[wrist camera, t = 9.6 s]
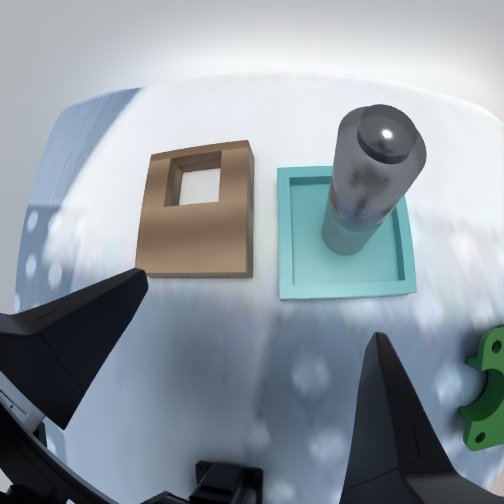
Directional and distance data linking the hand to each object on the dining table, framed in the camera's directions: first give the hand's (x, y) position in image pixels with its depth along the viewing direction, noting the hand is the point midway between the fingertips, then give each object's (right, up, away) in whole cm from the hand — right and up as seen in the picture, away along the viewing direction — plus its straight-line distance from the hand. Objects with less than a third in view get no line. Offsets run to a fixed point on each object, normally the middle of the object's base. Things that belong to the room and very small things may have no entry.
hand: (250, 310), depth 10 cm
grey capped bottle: (+8, +4, +13) cm, 15 cm away
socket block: (-5, +6, +16) cm, 18 cm away
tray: (+8, +3, +14) cm, 16 cm away
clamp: (+23, -11, +8) cm, 26 cm away
